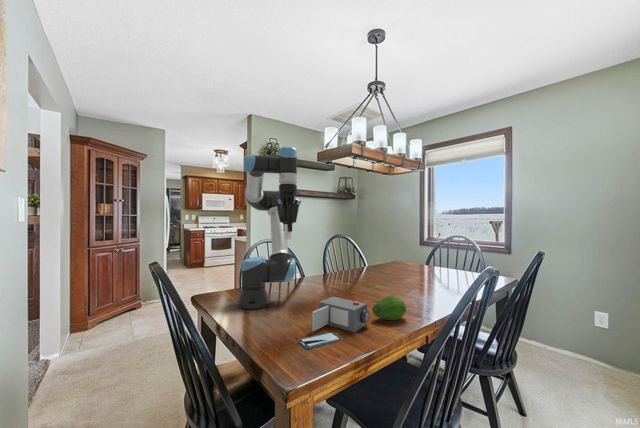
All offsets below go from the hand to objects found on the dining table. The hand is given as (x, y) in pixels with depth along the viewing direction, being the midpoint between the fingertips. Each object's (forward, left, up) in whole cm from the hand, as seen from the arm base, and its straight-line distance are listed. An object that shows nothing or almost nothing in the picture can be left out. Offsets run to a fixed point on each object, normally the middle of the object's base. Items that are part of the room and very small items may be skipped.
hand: (287, 239), depth 120 cm
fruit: (+34, +27, -35) cm, 56 cm away
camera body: (+21, +12, -34) cm, 42 cm away
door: (+16, +1, -34) cm, 37 cm away
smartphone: (+23, -7, -35) cm, 42 cm away
